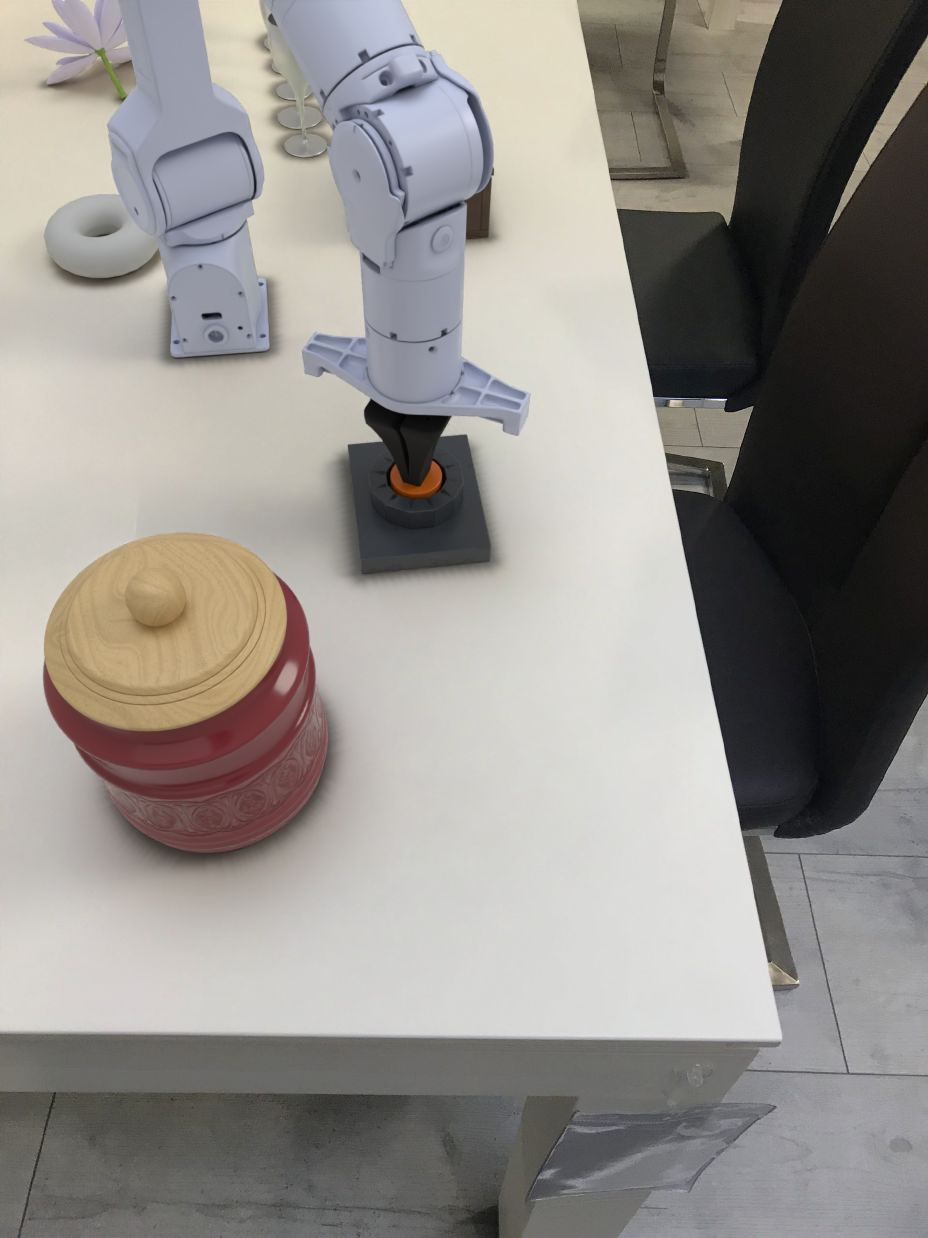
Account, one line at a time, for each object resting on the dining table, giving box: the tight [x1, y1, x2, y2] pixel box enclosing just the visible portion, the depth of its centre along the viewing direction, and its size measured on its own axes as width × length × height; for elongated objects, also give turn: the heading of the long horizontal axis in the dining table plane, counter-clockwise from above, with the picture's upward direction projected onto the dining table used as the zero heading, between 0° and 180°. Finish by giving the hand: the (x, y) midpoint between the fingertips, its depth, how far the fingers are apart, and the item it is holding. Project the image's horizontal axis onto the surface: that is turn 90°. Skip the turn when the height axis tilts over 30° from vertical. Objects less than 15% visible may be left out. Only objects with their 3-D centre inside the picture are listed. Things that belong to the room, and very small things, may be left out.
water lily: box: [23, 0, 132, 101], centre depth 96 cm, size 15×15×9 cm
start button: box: [390, 461, 442, 499], centre depth 64 cm, size 4×4×2 cm
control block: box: [347, 433, 492, 575], centre depth 65 cm, size 11×9×4 cm
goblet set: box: [258, 0, 328, 158], centre depth 95 cm, size 28×6×13 cm, turn 12°
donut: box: [43, 193, 159, 279], centre depth 81 cm, size 10×4×10 cm
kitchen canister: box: [42, 532, 329, 854], centre depth 48 cm, size 13×13×18 cm
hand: (416, 474), depth 64 cm, fingers closed, pressing on start button
